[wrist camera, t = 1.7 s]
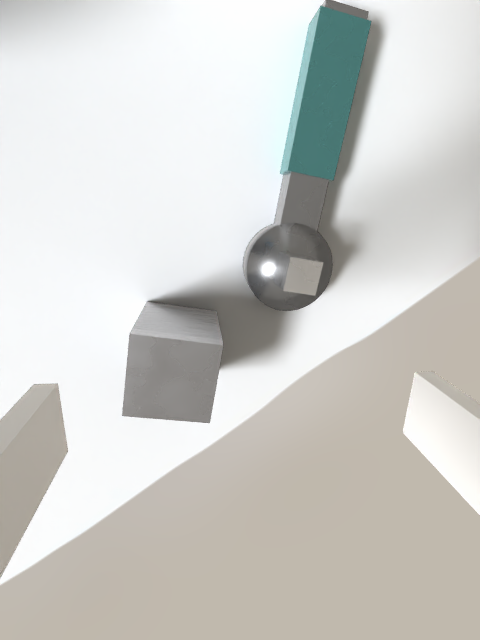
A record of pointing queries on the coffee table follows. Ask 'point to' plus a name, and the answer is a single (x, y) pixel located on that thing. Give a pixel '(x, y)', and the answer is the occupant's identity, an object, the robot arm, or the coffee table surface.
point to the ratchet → (309, 163)
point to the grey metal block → (173, 363)
